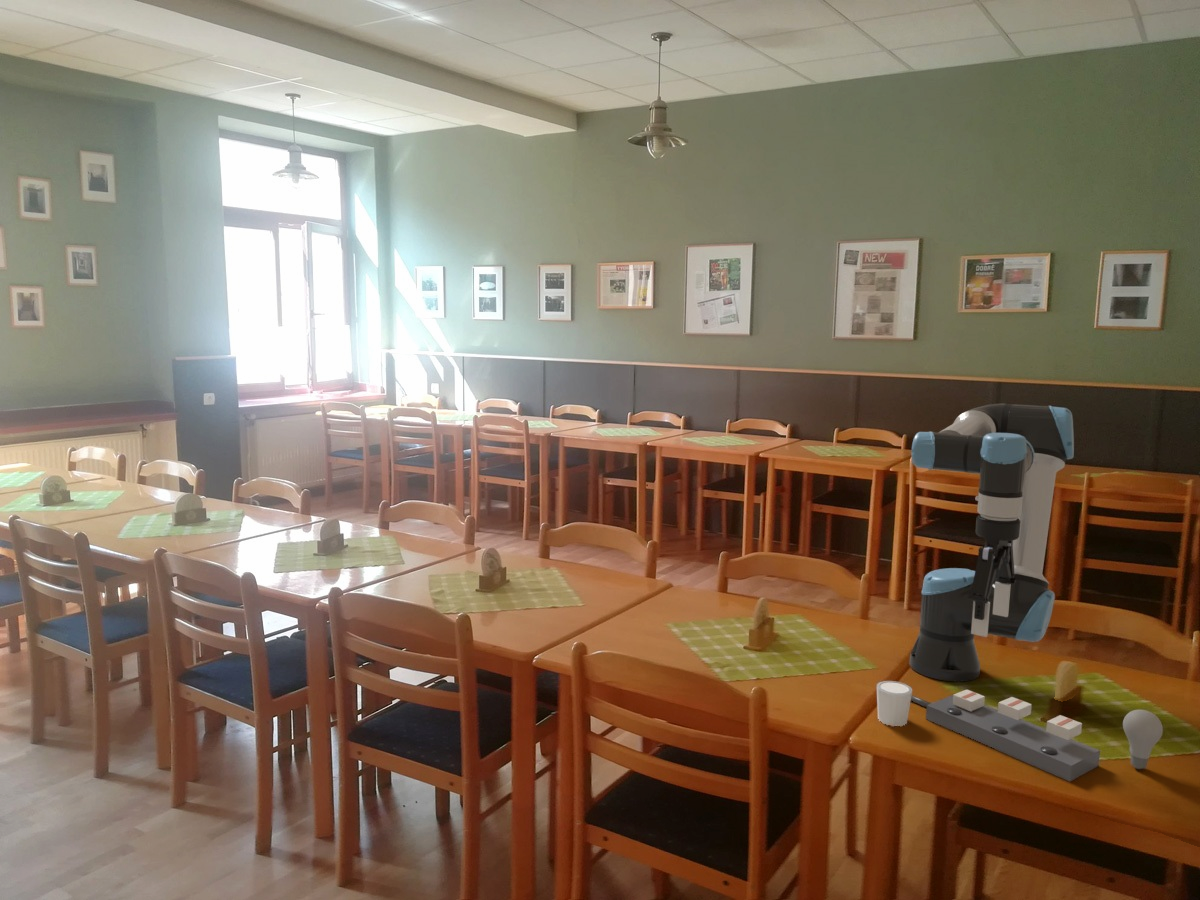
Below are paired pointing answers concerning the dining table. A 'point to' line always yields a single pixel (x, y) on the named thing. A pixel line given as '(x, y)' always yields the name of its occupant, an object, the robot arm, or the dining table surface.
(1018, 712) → the middle switch
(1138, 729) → the lightbulb
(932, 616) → the robot arm
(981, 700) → the cord end switch
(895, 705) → the white cup
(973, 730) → the power strip
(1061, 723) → the far end switch
